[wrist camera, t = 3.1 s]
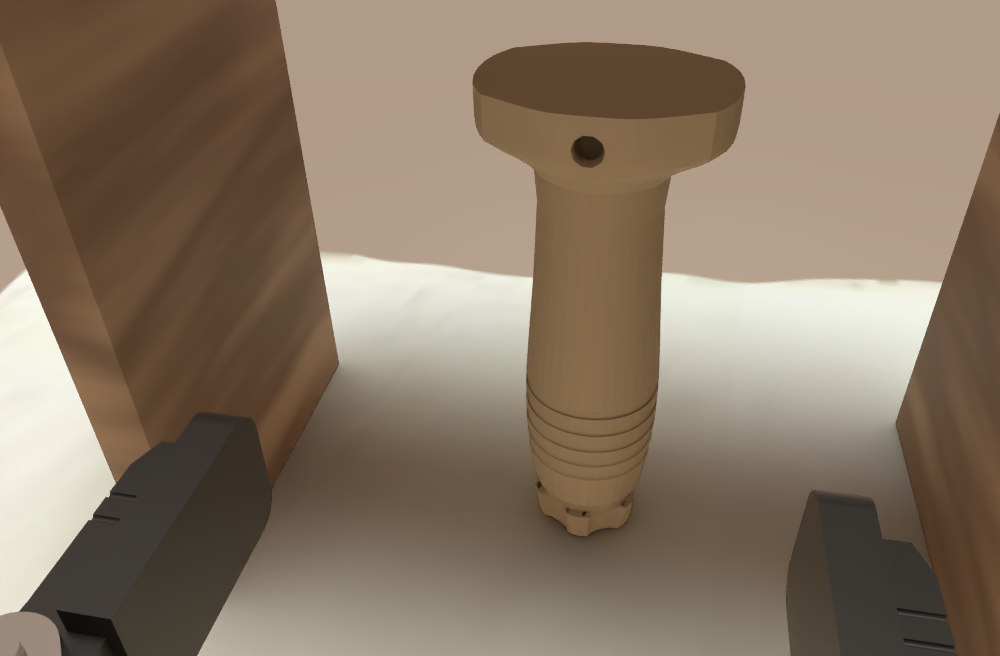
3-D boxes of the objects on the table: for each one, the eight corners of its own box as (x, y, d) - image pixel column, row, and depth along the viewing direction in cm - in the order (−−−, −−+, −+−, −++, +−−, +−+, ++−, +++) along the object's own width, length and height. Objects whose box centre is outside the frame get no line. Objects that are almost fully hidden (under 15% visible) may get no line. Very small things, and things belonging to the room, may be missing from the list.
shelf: (938, 426, 32) (1260, -426, 18) (1033, 736, 23) (1878, -546, 8) (305, 360, 36) (154, -375, 22) (163, 597, 27) (-260, -417, 13)
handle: (512, 441, 32) (502, 36, 23) (686, 470, 31) (749, 51, 22) (475, 541, 28) (448, 105, 19) (673, 580, 27) (741, 128, 18)
